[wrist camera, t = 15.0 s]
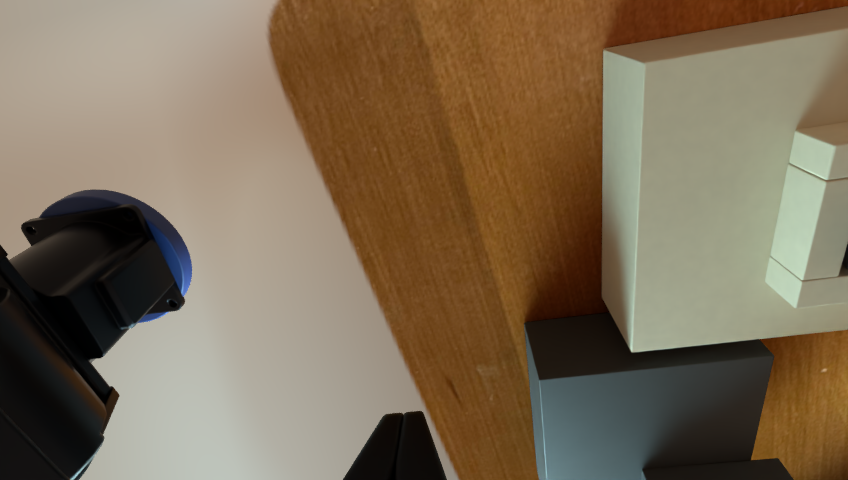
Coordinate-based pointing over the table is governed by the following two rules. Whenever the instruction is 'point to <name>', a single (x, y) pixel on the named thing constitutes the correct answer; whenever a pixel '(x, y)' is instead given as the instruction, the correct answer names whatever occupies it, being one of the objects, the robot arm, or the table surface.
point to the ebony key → (845, 258)
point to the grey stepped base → (644, 406)
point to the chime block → (727, 183)
